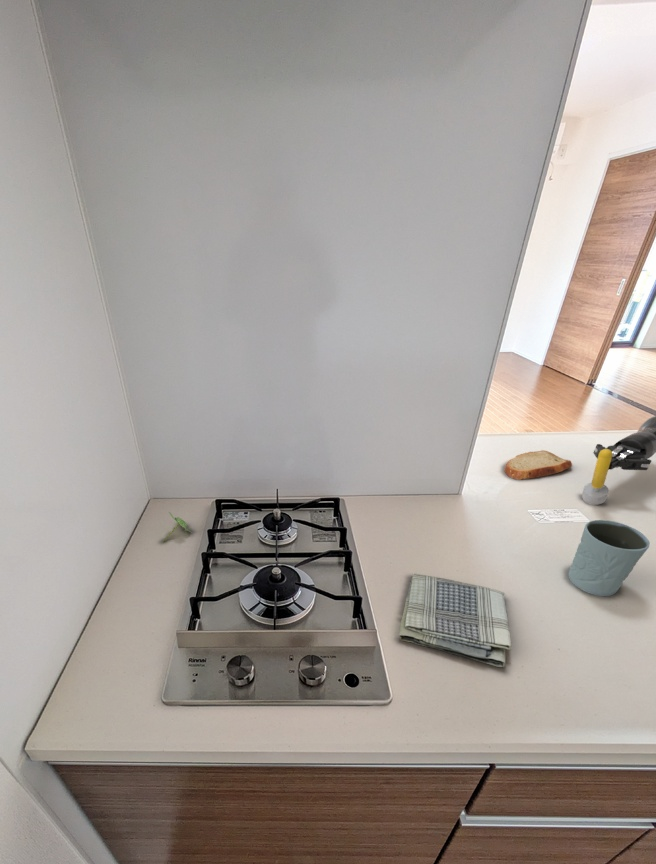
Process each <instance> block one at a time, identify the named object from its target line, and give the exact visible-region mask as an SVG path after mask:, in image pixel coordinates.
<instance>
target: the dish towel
mask: <svg viewBox="0 0 656 864" xmlns="http://www.w3.org/2000/svg"><path fill="white" fill-rule="evenodd" d="M410 579H411V580H410V583H409V587H408V591H407V595H406V599H405V604H404V607H403V611H402V612H403V613H402V617H401V621H400V624H399V625H400V626H399V633H398V637H399V639H400V641H402V642H406V643H407V642H408V643H412V644H415V645H417V646H423V647H426V648H432V649H436V650H439V651H443V652H445V653H447V654H451V655H456V656H460V657H463V658H468V659H471V660H474V661H476V662H480V663H483V664H487V665H491V666H494V667H497V668H505V667H506V659H507V658H506V656H507V655H506V650H507V651H510V650H511V649H512V639H511V632H510V627H509V617H508V614H507V607H506V601H505V595H506V594H505V592H504V591H502V590H497V589H495V588H491V587H486V586H483V585H482V586H481V585H477V584H471V583H467V582H462V581H459V580H453V579H449V578H443V577H437V576H432V575H425V574H419V573H412V574H411V577H410Z"/></svg>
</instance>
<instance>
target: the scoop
mask: <svg viewBox="0 0 656 864" xmlns="http://www.w3.org/2000/svg"><path fill="white" fill-rule="evenodd" d="M611 458H612V451H611V450H609V449H603V450H601V451H600V452H599V455H598V459H597V458H596V464H595V467H594V471H593V476H592V479H591V482H589V483H587V484H586V485H584V487H583V490H582V494H581V499H582V500H583V502H585V503H586V504H589V505H592V506H598V505H602V504H604V503H605V502H606V501H607V498H608V495H609V491H610V490H609V487H608V486H607V485H606V484H605V482H606V480H607V475H608V472H609V470H610V469H609V465H610V462H611ZM608 469H609V470H608Z"/></svg>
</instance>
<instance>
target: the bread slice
mask: <svg viewBox="0 0 656 864" xmlns="http://www.w3.org/2000/svg"><path fill="white" fill-rule="evenodd" d="M571 467H573V463H572V461H571V460H570V459H564V458H562V457H560V456H558V455H556V454H554V453H552V452H551V451H548V450H536V451H528V452H524V453H519V454H517V455H516V456H515V457H513V458H512V459H510V460H508V461H507V463H506V464H505V466H504V473H505V474H506V475H507V476H508V477H509V478H511V479H513V480H519V481H520V480H527V479H528V480H532V479H537V478H541V477H547V476H551V475H554V474H555V475H556V474H560V473H561V472H563V471H566V470H568V469H570V468H571Z"/></svg>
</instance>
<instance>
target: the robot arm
mask: <svg viewBox="0 0 656 864" xmlns="http://www.w3.org/2000/svg"><path fill="white" fill-rule="evenodd" d="M603 449H609V450H611V451H612V458H611V462H610V465H609V469H608V471H609V470H610V471H612V470H614V469H618V468H620V469H621V470H624V471H648V469H649V467H650V465H651V463H652V459H650V458H652V457H653V456H654V455H655V454H656V415H654V416H651V417H650V418H648V419H646V420H645V421H644V422H643V423H642V424H641V425H640V426H639V428H638V430H637V431H636V432H633V433H631V434H629V435H627V436H626V437H625V436H624V438H621V439H620V440H618V441H617V442H615V443H614V444H613V445H608V446H607V447H606V446H603V445H602V444H601V443H597V444H596V445H595V448H594V450H593V452H592V453H593V455H594V456H595V458H596V460H597V459H598V455H599V452H600V451H601V450H603Z"/></svg>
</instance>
